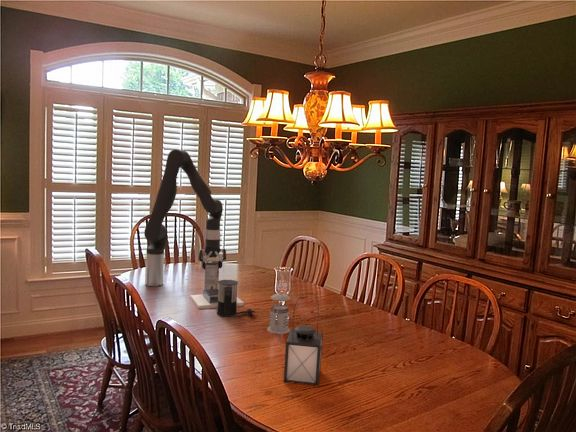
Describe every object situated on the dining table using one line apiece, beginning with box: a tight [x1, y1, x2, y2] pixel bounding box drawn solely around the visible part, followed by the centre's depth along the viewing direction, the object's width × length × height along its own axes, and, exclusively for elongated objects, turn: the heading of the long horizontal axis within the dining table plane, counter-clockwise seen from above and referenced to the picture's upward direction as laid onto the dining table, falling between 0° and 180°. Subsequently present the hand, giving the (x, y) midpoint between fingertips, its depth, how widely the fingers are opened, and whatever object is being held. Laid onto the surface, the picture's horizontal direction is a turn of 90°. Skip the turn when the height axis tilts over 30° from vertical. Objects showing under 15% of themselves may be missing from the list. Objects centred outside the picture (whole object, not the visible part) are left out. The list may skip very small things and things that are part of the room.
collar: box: [202, 289, 218, 303], centre depth 229 cm, size 10×14×3 cm
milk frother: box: [216, 279, 256, 317], centre depth 211 cm, size 14×16×15 cm
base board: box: [189, 293, 245, 310], centre depth 230 cm, size 22×18×2 cm
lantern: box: [283, 292, 324, 386], centre depth 151 cm, size 11×11×28 cm
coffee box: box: [203, 260, 220, 290], centre depth 246 cm, size 9×6×16 cm
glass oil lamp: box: [266, 270, 291, 335], centre depth 193 cm, size 10×12×25 cm
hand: (212, 268), depth 246 cm, fingers open, 8 cm apart
